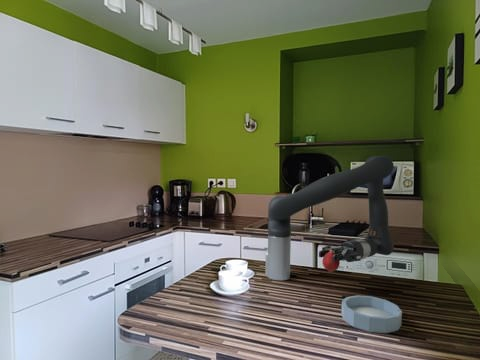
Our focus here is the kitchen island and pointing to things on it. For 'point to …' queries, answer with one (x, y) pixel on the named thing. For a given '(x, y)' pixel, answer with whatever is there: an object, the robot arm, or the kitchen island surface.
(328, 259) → the onion
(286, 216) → the robot arm
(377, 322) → the faceted shallow dish
